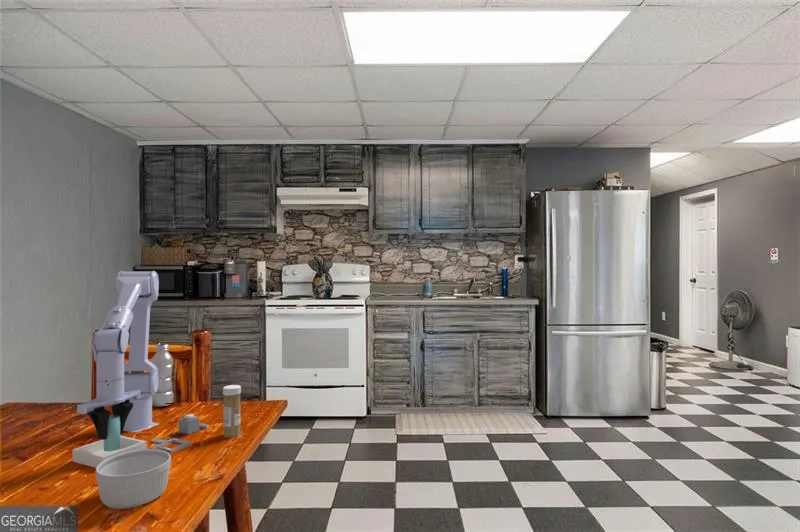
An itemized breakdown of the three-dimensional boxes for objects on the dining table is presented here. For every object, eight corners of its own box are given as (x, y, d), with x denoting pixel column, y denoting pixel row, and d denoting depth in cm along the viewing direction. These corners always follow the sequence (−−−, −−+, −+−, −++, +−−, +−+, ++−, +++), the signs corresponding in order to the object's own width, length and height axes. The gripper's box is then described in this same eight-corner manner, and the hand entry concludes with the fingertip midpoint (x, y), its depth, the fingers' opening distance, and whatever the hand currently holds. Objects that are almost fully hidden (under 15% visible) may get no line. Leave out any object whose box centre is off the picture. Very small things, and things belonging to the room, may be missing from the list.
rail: (151, 443, 127) (151, 439, 127) (196, 426, 140) (196, 422, 140) (164, 446, 125) (164, 441, 125) (208, 429, 138) (208, 424, 138)
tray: (72, 461, 115) (72, 449, 115) (117, 445, 125) (116, 434, 125) (103, 469, 111) (103, 457, 111) (146, 452, 121) (146, 441, 121)
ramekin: (118, 520, 89) (118, 481, 89) (81, 501, 96) (81, 465, 96) (184, 491, 100) (184, 457, 100) (147, 476, 107) (147, 444, 107)
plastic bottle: (178, 404, 162) (178, 343, 162) (162, 410, 156) (162, 346, 156) (162, 402, 164) (162, 342, 164) (146, 408, 158) (146, 345, 158)
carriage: (178, 432, 134) (178, 416, 134) (189, 428, 137) (189, 412, 137) (188, 434, 132) (188, 418, 132) (199, 430, 135) (199, 414, 135)
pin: (100, 450, 116) (100, 419, 116) (111, 445, 120) (111, 414, 120) (112, 452, 116) (112, 420, 116) (123, 446, 119) (123, 415, 119)
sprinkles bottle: (243, 437, 131) (243, 386, 131) (225, 440, 129) (225, 389, 129) (238, 432, 135) (238, 383, 135) (221, 435, 133) (221, 385, 133)
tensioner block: (122, 463, 114) (122, 452, 114) (173, 442, 127) (173, 433, 127) (141, 467, 112) (141, 457, 112) (191, 446, 125) (191, 437, 125)
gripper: (91, 387, 110) (91, 448, 110) (149, 374, 123) (149, 429, 123) (71, 384, 113) (71, 444, 113) (129, 371, 126) (129, 425, 126)
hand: (110, 436), depth 118 cm, fingers closed on pin, 3 cm apart
